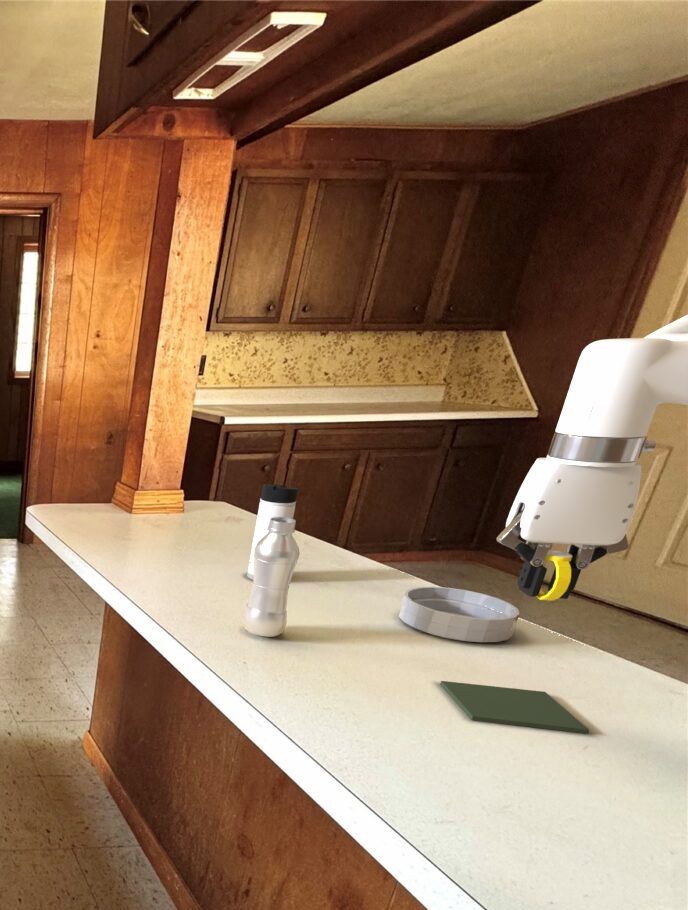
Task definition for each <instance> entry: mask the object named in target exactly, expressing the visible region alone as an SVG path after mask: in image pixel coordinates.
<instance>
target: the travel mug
mask: <svg viewBox="0 0 688 910" xmlns="http://www.w3.org/2000/svg"><path fill="white" fill-rule="evenodd" d="M298 493H299V488H298V487H296V486H295V487H291V486H290V487H289V486H286V485H284V484H277V483H263V485H262V491H261V496H260V498H259V503H258V504H259V505H258V509H257V510H258V511H257V516H256V520H255V521H256V522H255V527H254V534H253V538H252V544H251V551H250V556H249V561H248V568H247V572H246V576H247V578H248V579H250V580H251V581H253V575H254V550H255V547H256V545H257V543H258V542H259V541H260V540H261V539H262V538H263V537H264V536H265V535H267V534H268V533H269V531H268V530H267V529H268V526H269V522H270V519H271V518H273V517H284V518H290V519H294V514H295V510H296V504H297V496H298Z"/></svg>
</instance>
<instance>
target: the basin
mask: <svg viewBox="0 0 688 910" xmlns="http://www.w3.org/2000/svg"><path fill="white" fill-rule="evenodd" d="M485 606H487V607H485ZM490 608H492V609H494V610H491V609H490ZM497 611H498V612H497ZM500 612H502V613H500ZM398 617H399V619H400V620H401V621H402V622H403V623H405V624H407V625H408V626H410V627H412V628H414V629H417V630H419V631H421V632H424V633H426V634H429V635H432V636H436V637H438V638H439V637H440V638H445V639H447V640H448V639H449V640H452V641H453V640H454V641H461V642H469V643H499V642H504V641H508V640H509V639H510V638H511V637H513V634H514V631H515V629H516V626H517V623H518V620H519V617H520V610H519V608H518V607H516V606H515V605H514V604H512V603H511V602H508V601H506V600H503V599H502V598H499V597H495V596H493V595H489V594H485V593H482V592H476V591H472V590H469V589H468V590H467V589H461V588H453V587H445V586H444V587H443V586H417V587H413V588H409V589H407V590H405V591H404V592H403V596H402V600H401V603H400V607H399V612H398Z"/></svg>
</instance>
